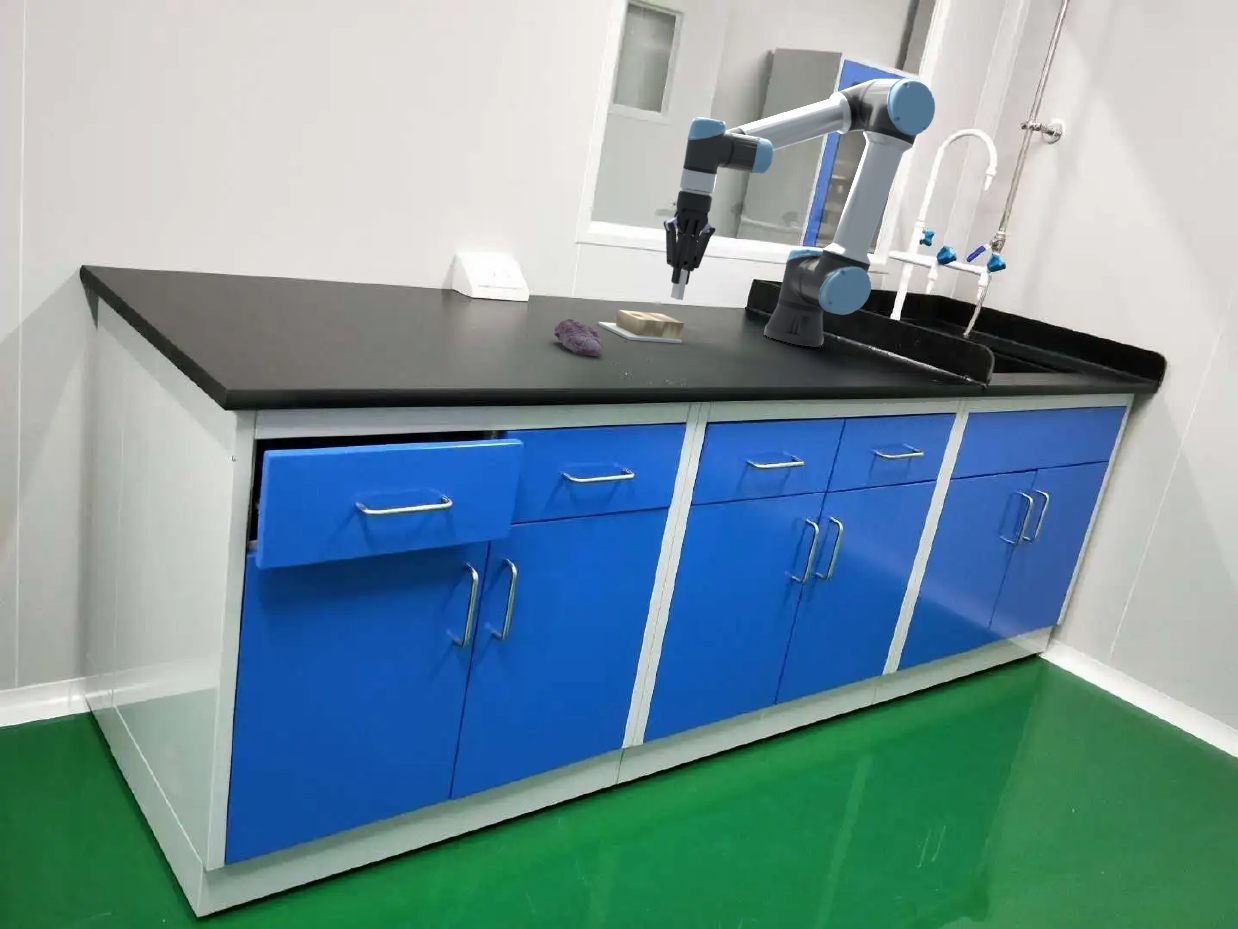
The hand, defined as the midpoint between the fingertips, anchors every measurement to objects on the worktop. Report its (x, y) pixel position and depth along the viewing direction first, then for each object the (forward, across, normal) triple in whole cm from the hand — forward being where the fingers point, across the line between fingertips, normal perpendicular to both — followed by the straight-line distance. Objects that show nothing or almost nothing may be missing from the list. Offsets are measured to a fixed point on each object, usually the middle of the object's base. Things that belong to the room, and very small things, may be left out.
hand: (676, 298), depth 229 cm
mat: (+9, +8, 0) cm, 12 cm away
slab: (+6, 0, 0) cm, 6 cm away
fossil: (+9, +34, +18) cm, 40 cm away
